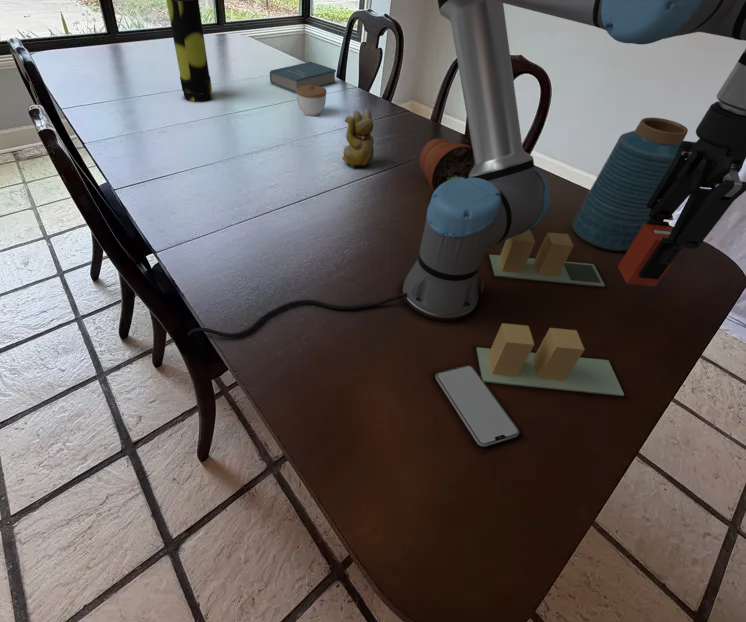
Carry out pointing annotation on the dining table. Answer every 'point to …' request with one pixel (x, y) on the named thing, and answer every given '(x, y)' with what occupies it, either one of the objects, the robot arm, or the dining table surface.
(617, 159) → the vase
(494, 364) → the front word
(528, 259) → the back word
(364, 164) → the decorative figurine
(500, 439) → the smartphone
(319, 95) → the trinket box
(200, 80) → the container
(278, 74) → the book
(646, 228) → the red slotted block
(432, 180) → the potted plant
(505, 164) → the robot arm
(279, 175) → the dining table surface
